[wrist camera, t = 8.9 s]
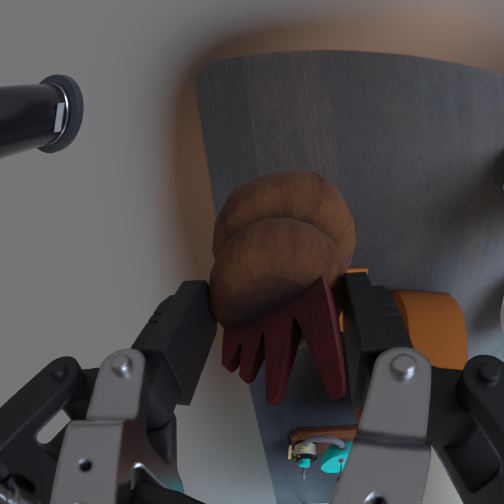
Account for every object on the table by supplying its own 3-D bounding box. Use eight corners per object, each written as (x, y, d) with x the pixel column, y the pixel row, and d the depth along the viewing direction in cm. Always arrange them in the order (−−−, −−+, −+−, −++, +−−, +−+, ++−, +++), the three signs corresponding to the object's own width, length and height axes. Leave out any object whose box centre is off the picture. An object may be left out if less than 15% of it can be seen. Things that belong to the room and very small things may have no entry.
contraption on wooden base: (287, 421, 53) (281, 486, 40) (375, 416, 50) (382, 480, 36) (290, 450, 59) (285, 504, 46) (365, 446, 56) (369, 500, 42)
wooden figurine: (331, 153, 17) (435, 285, 4) (346, 239, 19) (401, 455, 6) (225, 175, 19) (70, 328, 5) (248, 256, 21) (177, 463, 8)
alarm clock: (390, 277, 37) (430, 370, 22) (445, 281, 36) (497, 364, 21) (351, 390, 47) (358, 472, 32) (396, 390, 46) (412, 467, 31)
